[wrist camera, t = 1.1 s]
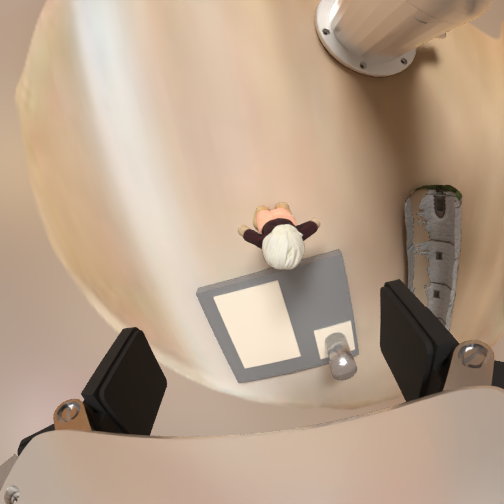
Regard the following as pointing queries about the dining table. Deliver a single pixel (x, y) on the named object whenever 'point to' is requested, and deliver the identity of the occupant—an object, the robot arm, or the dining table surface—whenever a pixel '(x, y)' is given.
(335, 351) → the pin
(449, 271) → the model building
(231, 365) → the board
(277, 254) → the grandmother figurine
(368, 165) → the dining table surface
